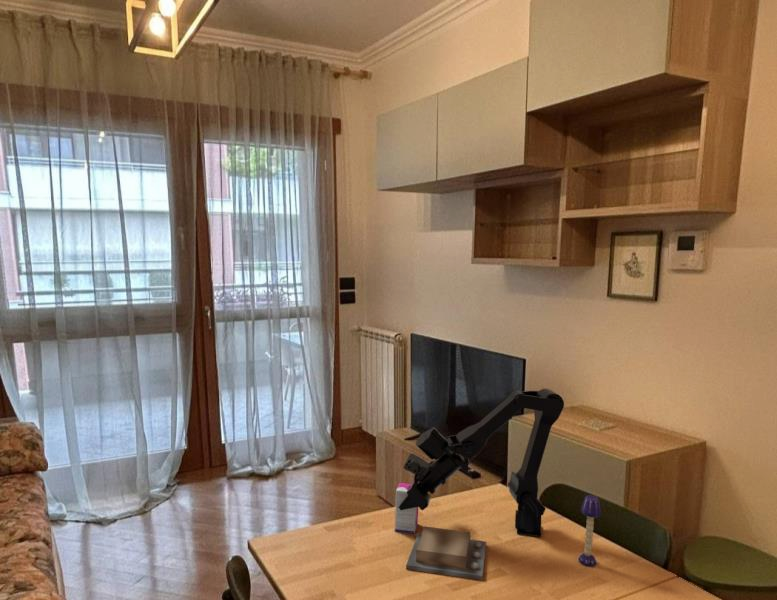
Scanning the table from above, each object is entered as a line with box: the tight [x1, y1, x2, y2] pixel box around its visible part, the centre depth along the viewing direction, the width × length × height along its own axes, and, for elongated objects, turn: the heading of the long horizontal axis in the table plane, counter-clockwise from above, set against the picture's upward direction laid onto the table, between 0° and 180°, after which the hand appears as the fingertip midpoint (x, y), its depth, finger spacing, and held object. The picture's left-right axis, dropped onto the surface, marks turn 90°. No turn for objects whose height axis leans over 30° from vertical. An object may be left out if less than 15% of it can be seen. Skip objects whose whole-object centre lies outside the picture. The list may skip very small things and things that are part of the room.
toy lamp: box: [577, 494, 602, 568], centre depth 132 cm, size 5×5×17 cm
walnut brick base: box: [405, 526, 487, 581], centre depth 134 cm, size 18×16×4 cm
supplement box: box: [394, 482, 419, 534], centre depth 149 cm, size 6×6×12 cm
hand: (402, 503), depth 149 cm, fingers closed on supplement box, 6 cm apart
